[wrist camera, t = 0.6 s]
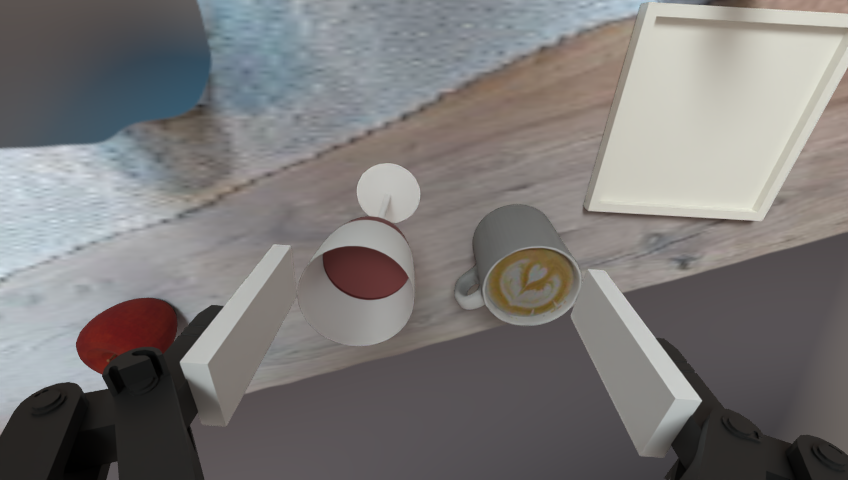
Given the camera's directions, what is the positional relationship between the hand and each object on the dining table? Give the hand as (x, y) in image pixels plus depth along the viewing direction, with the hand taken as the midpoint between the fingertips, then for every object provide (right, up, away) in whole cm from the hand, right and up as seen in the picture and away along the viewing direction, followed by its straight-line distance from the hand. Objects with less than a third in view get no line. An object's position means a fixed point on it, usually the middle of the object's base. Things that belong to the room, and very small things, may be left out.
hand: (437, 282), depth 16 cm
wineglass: (-5, +7, +26) cm, 28 cm away
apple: (-39, -8, +36) cm, 53 cm away
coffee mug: (+9, +1, +29) cm, 31 cm away
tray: (+29, +14, +21) cm, 39 cm away
